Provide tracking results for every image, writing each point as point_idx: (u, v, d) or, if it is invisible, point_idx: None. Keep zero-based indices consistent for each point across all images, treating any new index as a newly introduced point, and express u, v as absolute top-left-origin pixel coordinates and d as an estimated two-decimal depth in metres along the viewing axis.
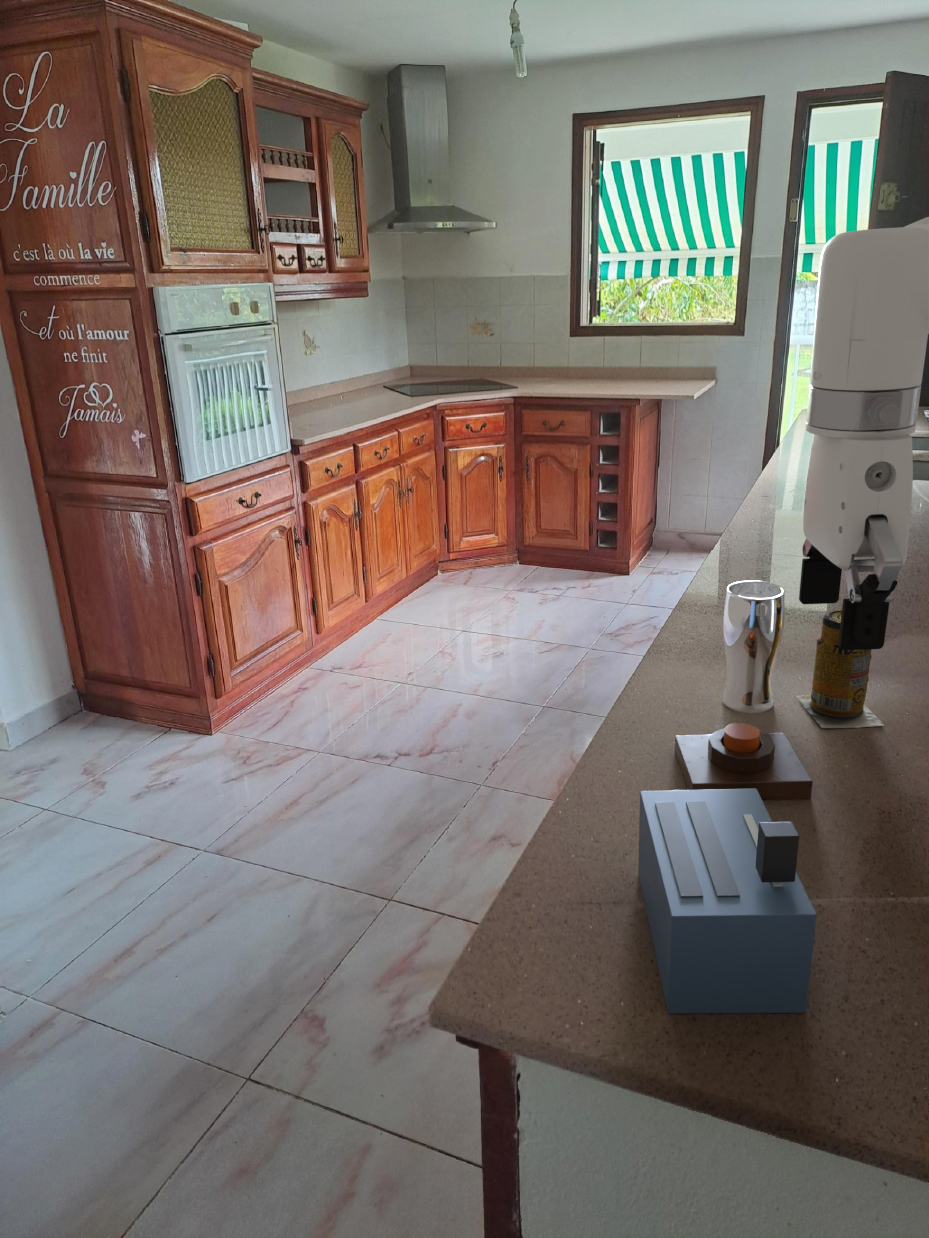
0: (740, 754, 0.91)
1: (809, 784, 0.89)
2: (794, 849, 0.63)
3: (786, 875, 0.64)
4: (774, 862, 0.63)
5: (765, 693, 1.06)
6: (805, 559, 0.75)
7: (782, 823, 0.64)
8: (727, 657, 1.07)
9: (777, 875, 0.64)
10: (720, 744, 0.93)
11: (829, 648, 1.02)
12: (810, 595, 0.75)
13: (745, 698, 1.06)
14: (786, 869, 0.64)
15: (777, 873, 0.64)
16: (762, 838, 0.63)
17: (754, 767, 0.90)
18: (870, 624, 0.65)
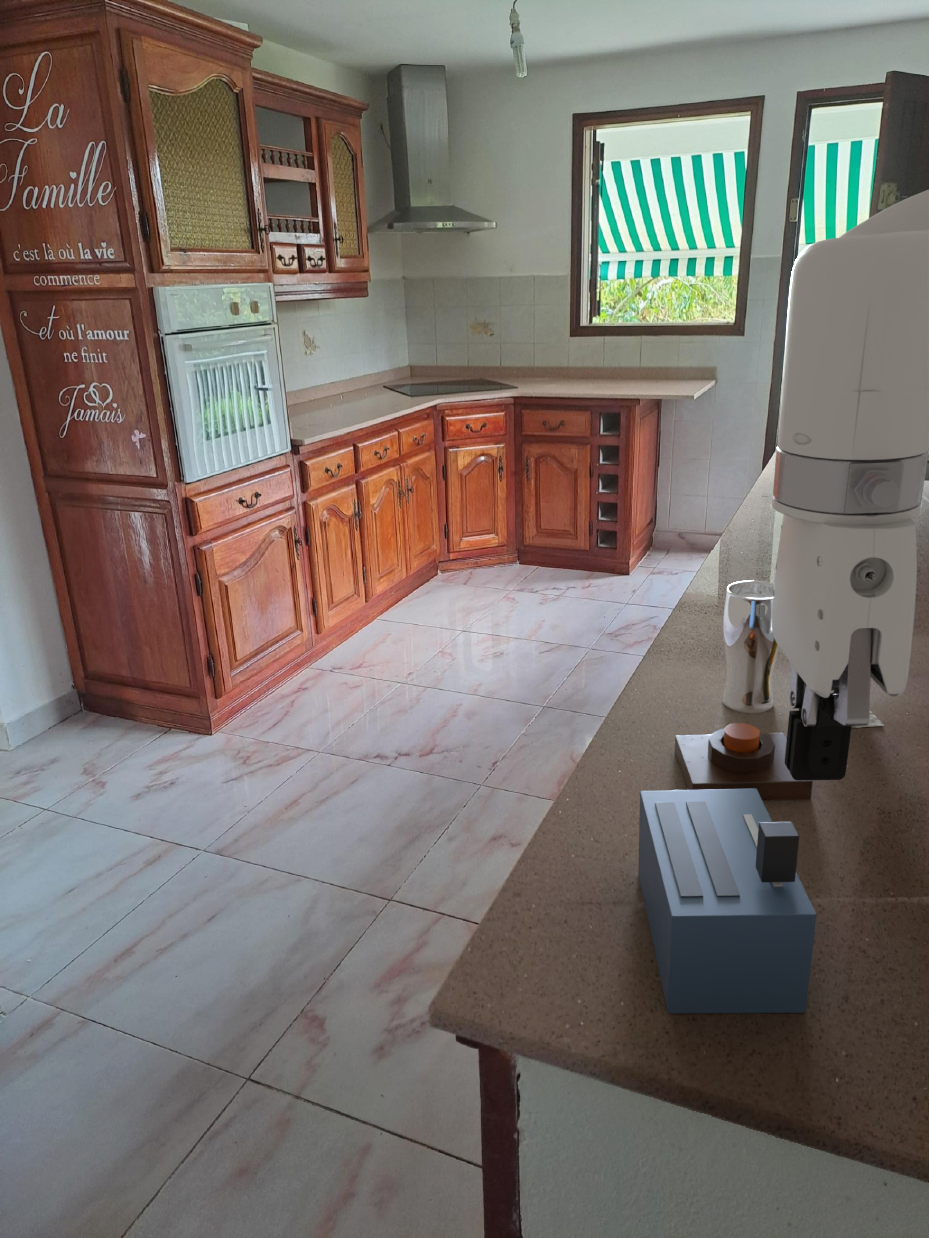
0: (740, 754, 0.91)
1: (809, 784, 0.89)
2: (794, 849, 0.63)
3: (786, 875, 0.64)
4: (774, 862, 0.63)
5: (765, 693, 1.06)
6: (793, 711, 0.54)
7: (782, 823, 0.64)
8: (727, 657, 1.07)
9: (777, 875, 0.64)
10: (720, 744, 0.93)
11: None
12: None
13: (745, 698, 1.06)
14: (786, 869, 0.64)
15: (777, 873, 0.64)
16: (762, 838, 0.63)
17: (754, 767, 0.90)
18: (828, 752, 0.52)
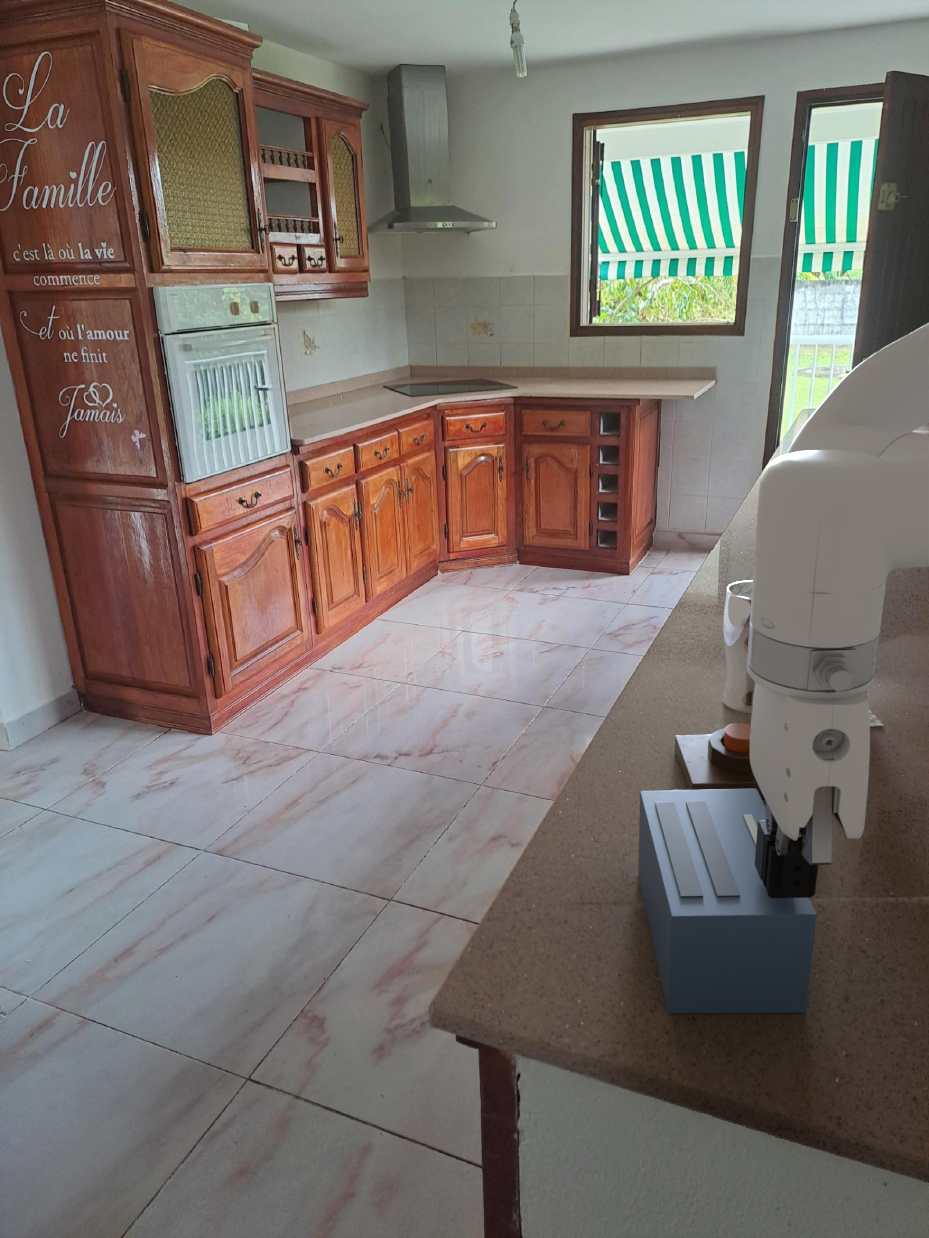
0: (740, 754, 0.91)
1: None
2: None
3: None
4: None
5: None
6: (768, 838, 0.61)
7: None
8: (727, 657, 1.07)
9: None
10: (720, 744, 0.93)
11: None
12: None
13: (745, 698, 1.06)
14: None
15: None
16: (761, 836, 0.64)
17: None
18: (798, 876, 0.60)
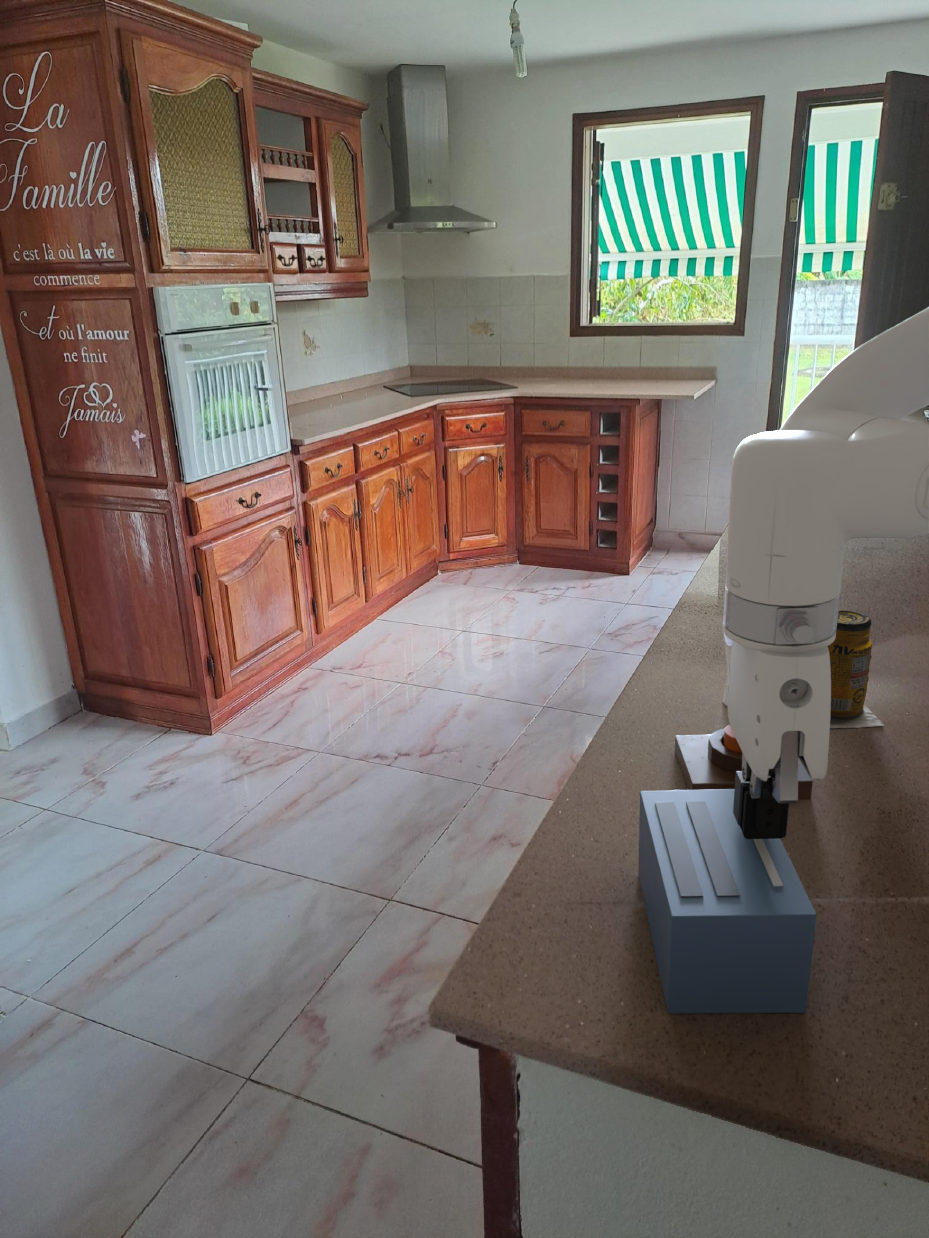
0: (740, 754, 0.91)
1: (809, 784, 0.89)
2: None
3: None
4: None
5: None
6: (744, 784, 0.67)
7: None
8: (727, 657, 1.07)
9: None
10: (720, 744, 0.93)
11: (829, 648, 1.02)
12: None
13: None
14: None
15: None
16: (738, 785, 0.70)
17: None
18: (770, 818, 0.66)
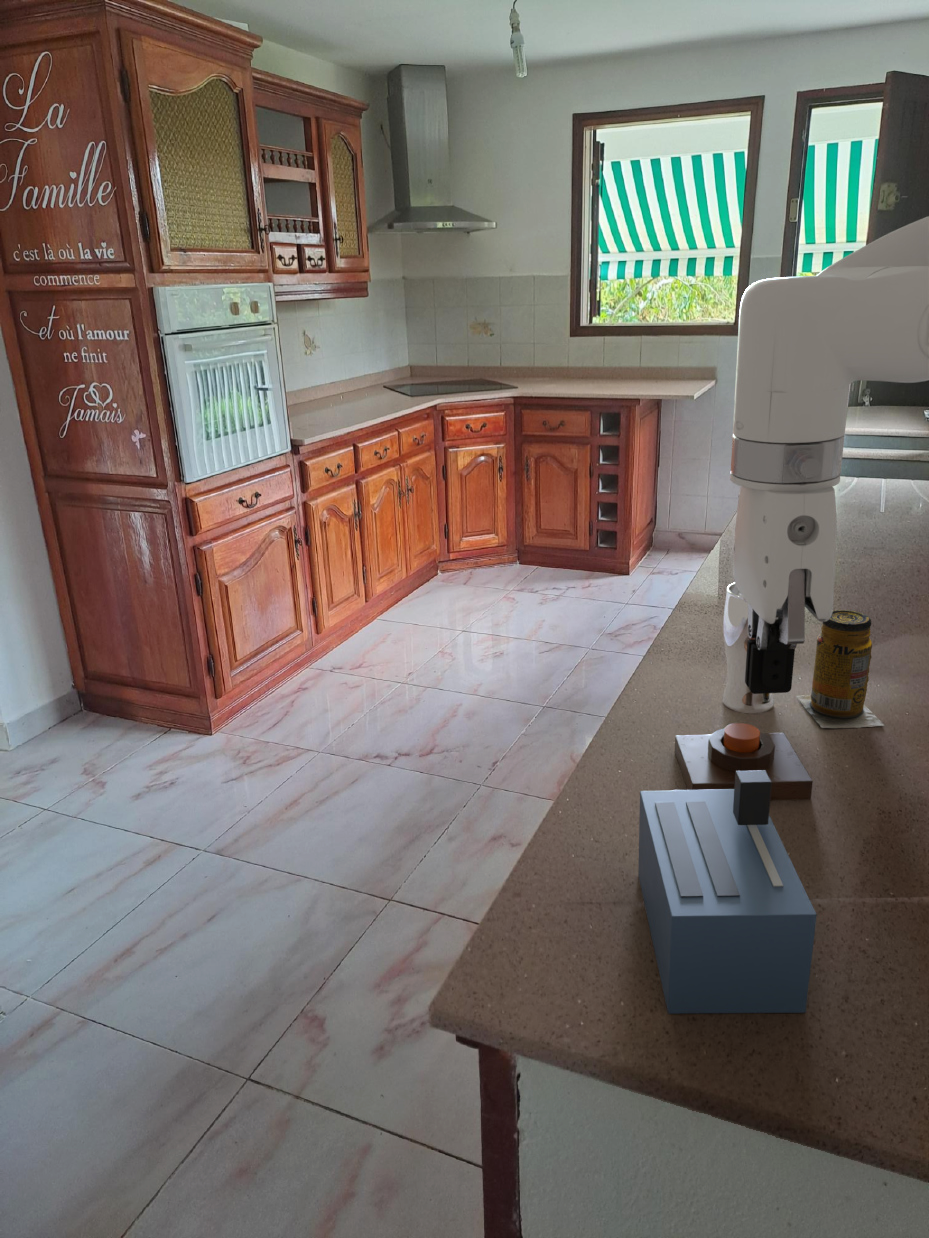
0: (740, 754, 0.91)
1: (809, 784, 0.89)
2: (767, 794, 0.69)
3: (760, 818, 0.70)
4: (749, 806, 0.70)
5: (765, 693, 1.06)
6: (750, 640, 0.69)
7: (756, 771, 0.71)
8: (727, 657, 1.07)
9: (752, 818, 0.70)
10: (720, 744, 0.93)
11: (829, 648, 1.02)
12: None
13: (745, 698, 1.06)
14: (760, 813, 0.70)
15: (752, 816, 0.70)
16: (738, 784, 0.70)
17: (754, 767, 0.90)
18: (777, 670, 0.68)
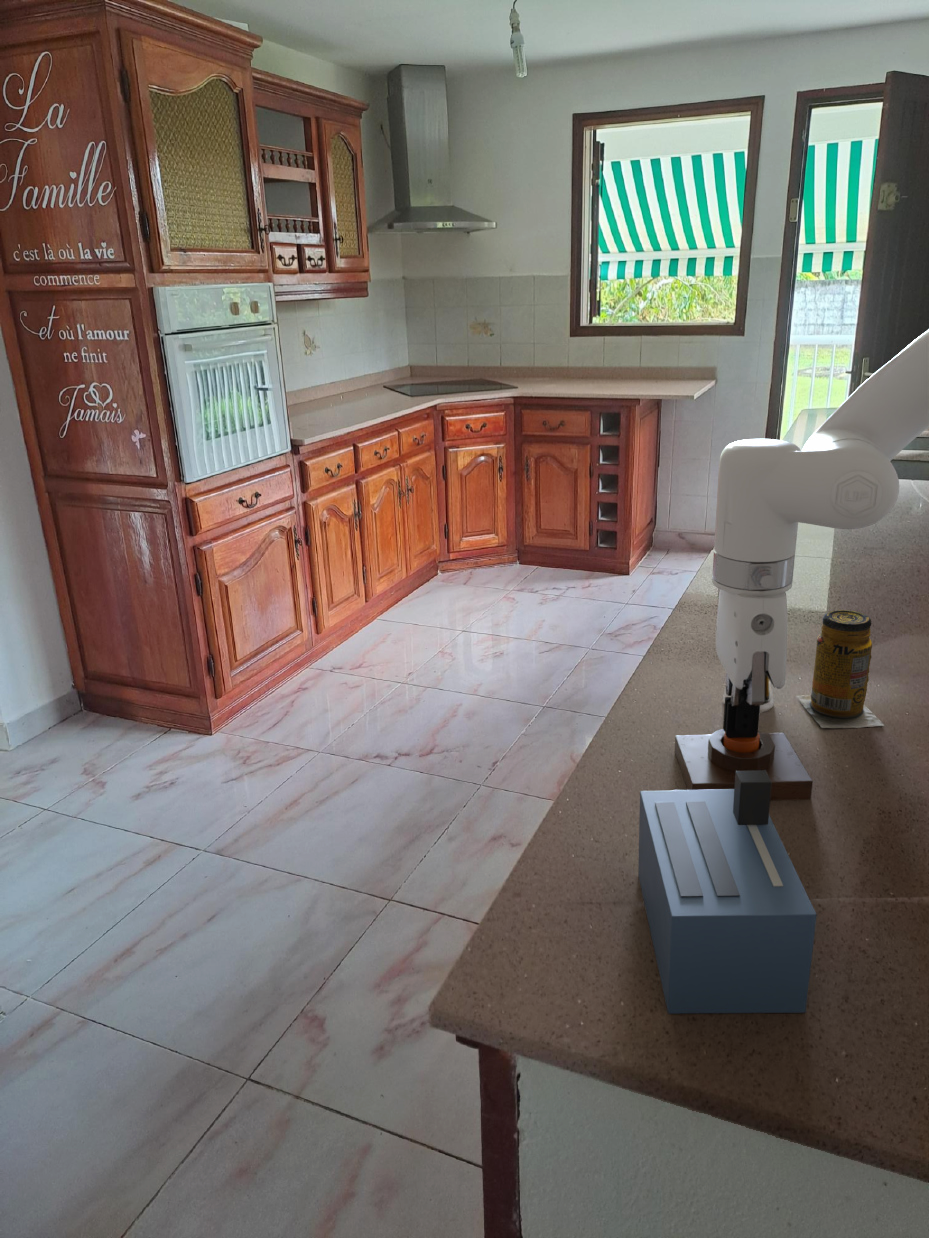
0: (740, 754, 0.91)
1: (809, 784, 0.89)
2: (767, 794, 0.69)
3: (760, 818, 0.70)
4: (749, 806, 0.70)
5: (765, 693, 1.06)
6: (727, 697, 0.92)
7: (756, 771, 0.71)
8: None
9: (752, 818, 0.70)
10: (720, 744, 0.93)
11: (829, 648, 1.02)
12: None
13: None
14: (760, 813, 0.70)
15: (752, 816, 0.70)
16: (738, 784, 0.70)
17: (754, 767, 0.90)
18: (746, 721, 0.90)
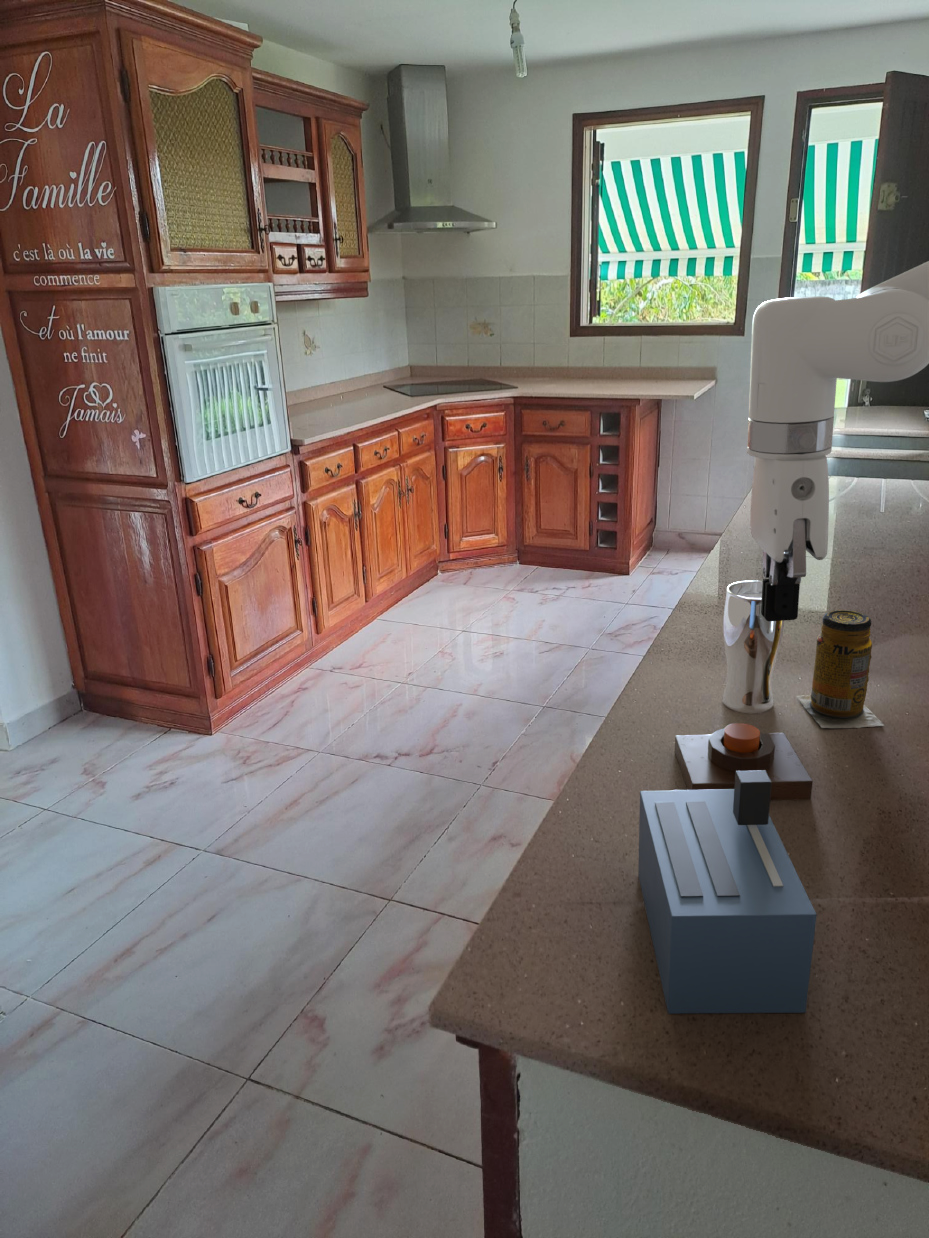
0: (740, 754, 0.91)
1: (809, 784, 0.89)
2: (767, 794, 0.69)
3: (760, 818, 0.70)
4: (749, 806, 0.70)
5: (765, 693, 1.06)
6: (764, 579, 0.89)
7: (756, 771, 0.71)
8: (727, 657, 1.07)
9: (752, 818, 0.70)
10: (720, 744, 0.93)
11: (829, 648, 1.02)
12: None
13: (745, 698, 1.06)
14: (760, 813, 0.70)
15: (752, 816, 0.70)
16: (738, 784, 0.70)
17: (754, 767, 0.90)
18: (785, 601, 0.87)
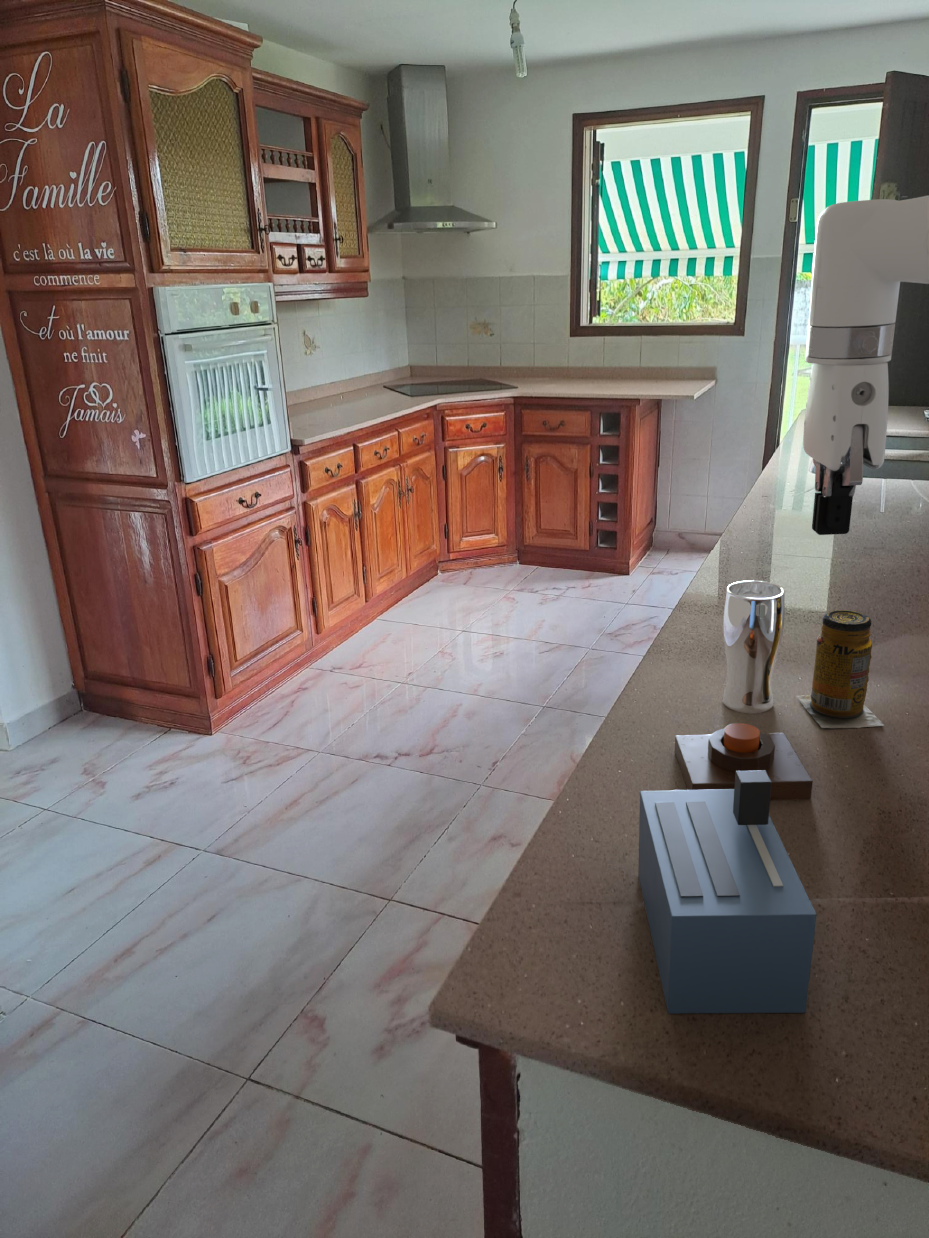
0: (740, 754, 0.91)
1: (809, 784, 0.89)
2: (767, 794, 0.69)
3: (760, 818, 0.70)
4: (749, 806, 0.70)
5: (765, 693, 1.06)
6: (817, 493, 0.89)
7: (756, 771, 0.71)
8: (727, 657, 1.07)
9: (752, 818, 0.70)
10: (720, 744, 0.93)
11: (829, 648, 1.02)
12: None
13: (745, 698, 1.06)
14: (760, 813, 0.70)
15: (752, 816, 0.70)
16: (738, 784, 0.70)
17: (754, 767, 0.90)
18: (838, 513, 0.87)
